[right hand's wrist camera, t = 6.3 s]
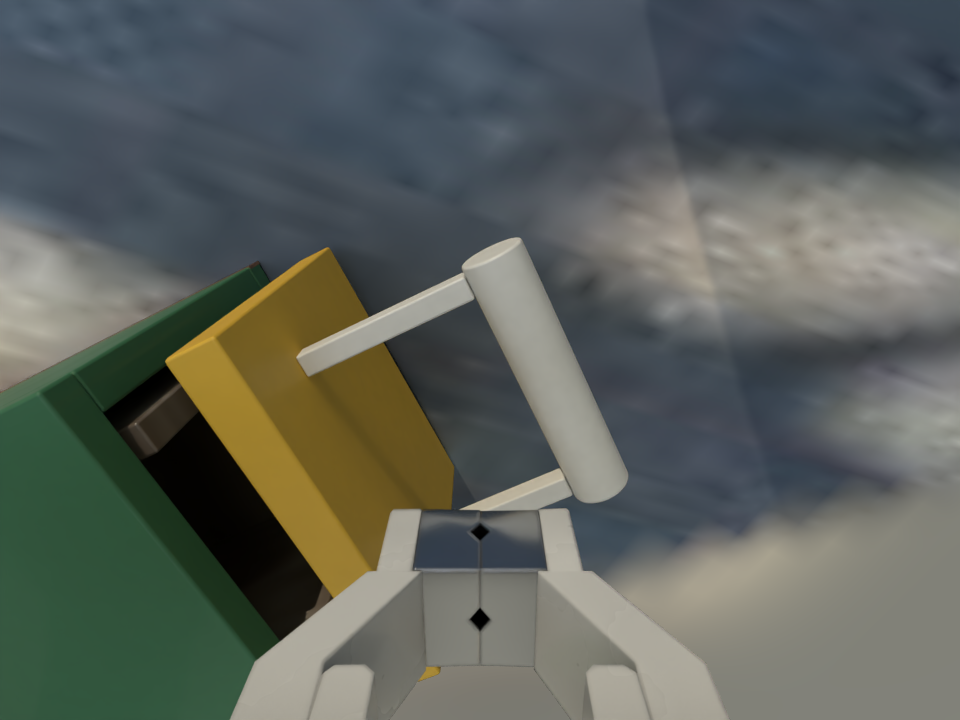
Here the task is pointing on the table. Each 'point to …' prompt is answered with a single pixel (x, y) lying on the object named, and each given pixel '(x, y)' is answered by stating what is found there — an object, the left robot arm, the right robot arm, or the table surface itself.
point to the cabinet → (113, 546)
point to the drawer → (344, 426)
